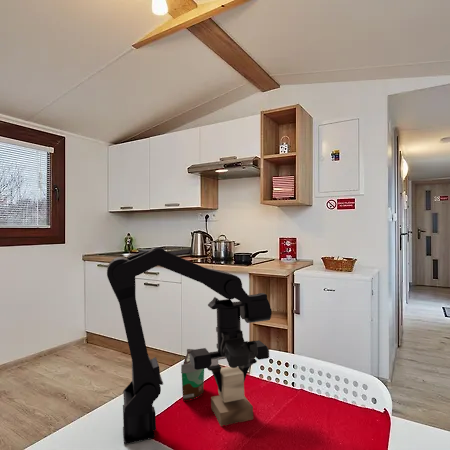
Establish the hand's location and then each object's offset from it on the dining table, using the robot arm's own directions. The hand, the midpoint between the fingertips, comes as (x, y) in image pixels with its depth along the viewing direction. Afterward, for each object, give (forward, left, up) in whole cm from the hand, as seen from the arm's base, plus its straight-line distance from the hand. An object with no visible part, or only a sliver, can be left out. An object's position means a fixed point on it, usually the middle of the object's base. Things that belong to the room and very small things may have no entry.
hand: (230, 389), depth 84 cm
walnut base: (0, 0, -6) cm, 6 cm away
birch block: (0, 0, -2) cm, 2 cm away
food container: (-5, +14, -6) cm, 16 cm away
